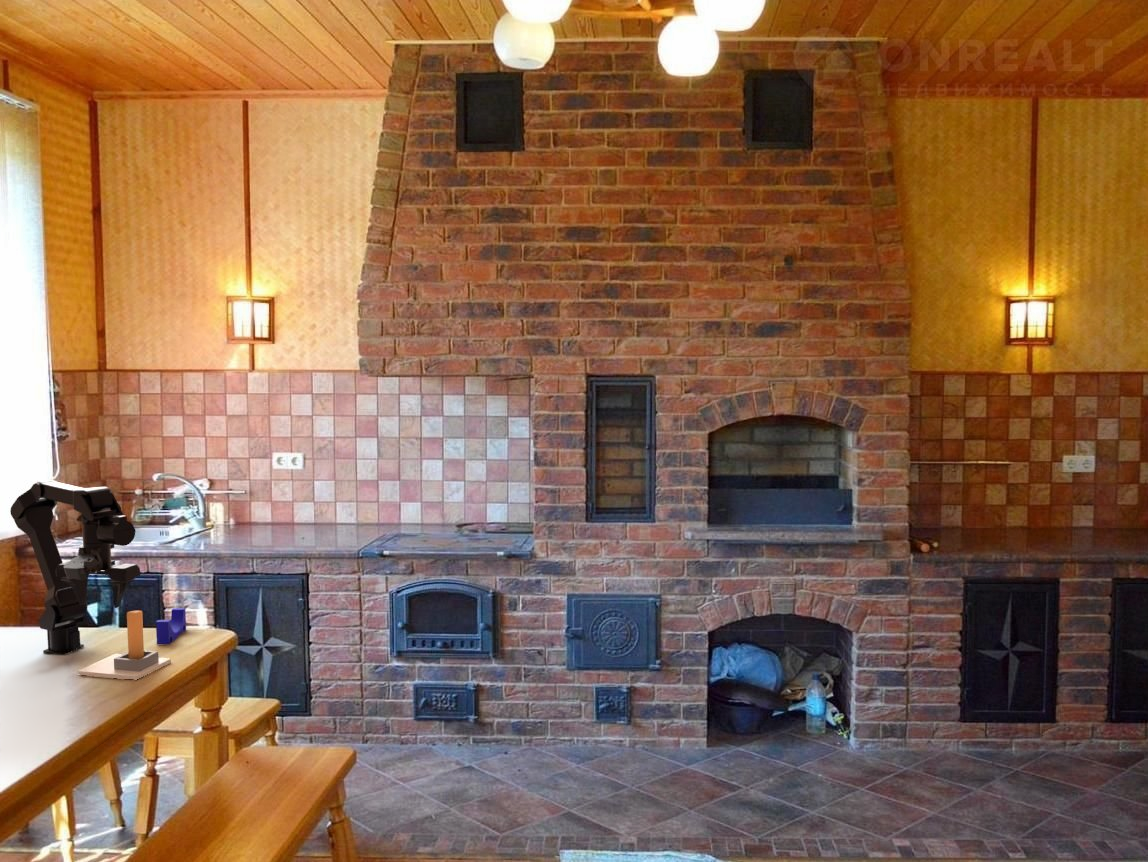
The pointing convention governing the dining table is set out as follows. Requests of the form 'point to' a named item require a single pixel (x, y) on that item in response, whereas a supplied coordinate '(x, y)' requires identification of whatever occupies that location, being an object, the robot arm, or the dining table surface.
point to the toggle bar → (135, 635)
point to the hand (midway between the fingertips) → (99, 606)
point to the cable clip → (171, 627)
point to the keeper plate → (125, 666)
